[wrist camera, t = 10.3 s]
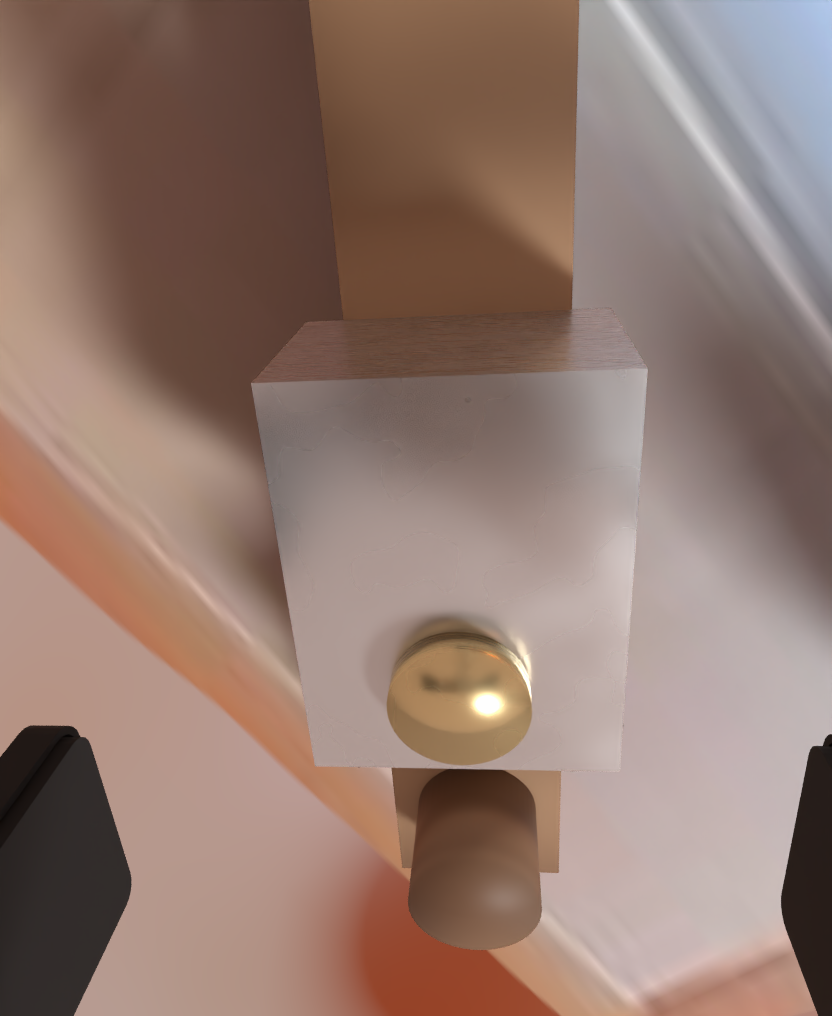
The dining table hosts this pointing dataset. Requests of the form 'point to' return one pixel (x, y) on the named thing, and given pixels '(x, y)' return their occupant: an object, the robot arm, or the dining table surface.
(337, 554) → the white block brass knobs
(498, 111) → the body
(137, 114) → the dining table surface
